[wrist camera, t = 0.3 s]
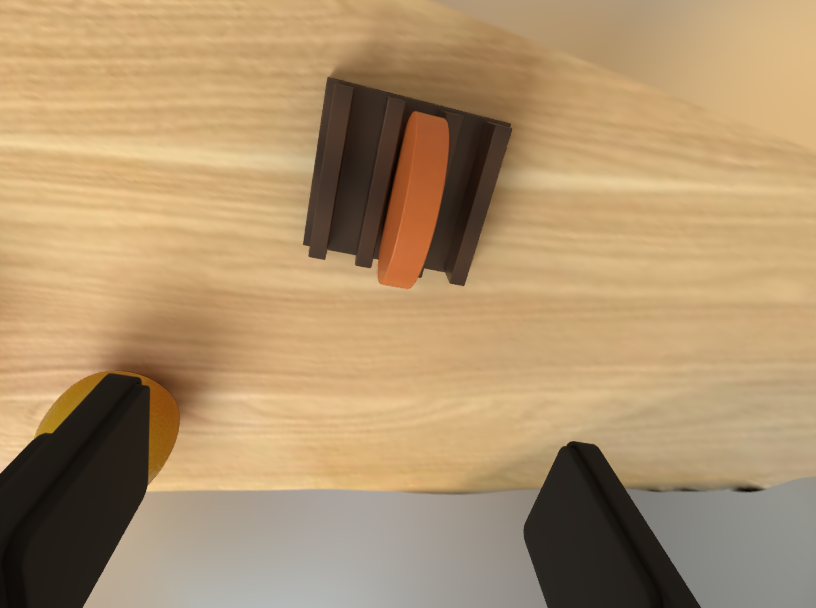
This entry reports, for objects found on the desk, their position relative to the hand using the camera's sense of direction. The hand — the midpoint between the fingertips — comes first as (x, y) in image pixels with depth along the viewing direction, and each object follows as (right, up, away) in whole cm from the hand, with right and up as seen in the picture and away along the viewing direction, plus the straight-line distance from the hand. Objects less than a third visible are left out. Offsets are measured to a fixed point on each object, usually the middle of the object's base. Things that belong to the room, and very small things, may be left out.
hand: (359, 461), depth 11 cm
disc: (+1, +11, +18) cm, 21 cm away
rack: (+1, +11, +19) cm, 22 cm away
